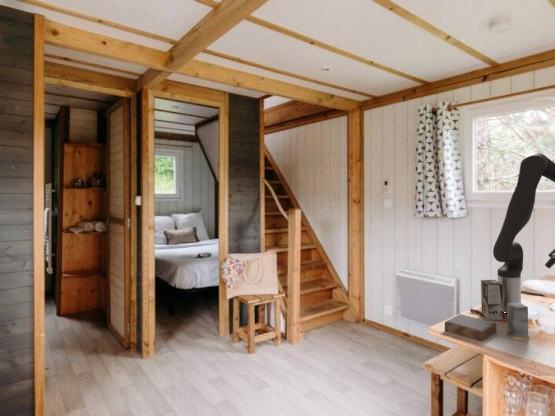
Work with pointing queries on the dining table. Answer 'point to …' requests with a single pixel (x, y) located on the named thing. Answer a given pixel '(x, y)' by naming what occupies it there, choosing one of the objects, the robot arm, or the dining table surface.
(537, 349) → the dining table surface
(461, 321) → the plate
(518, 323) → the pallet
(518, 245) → the robot arm
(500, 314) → the coffee box
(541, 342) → the dining table surface
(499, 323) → the dining table surface
